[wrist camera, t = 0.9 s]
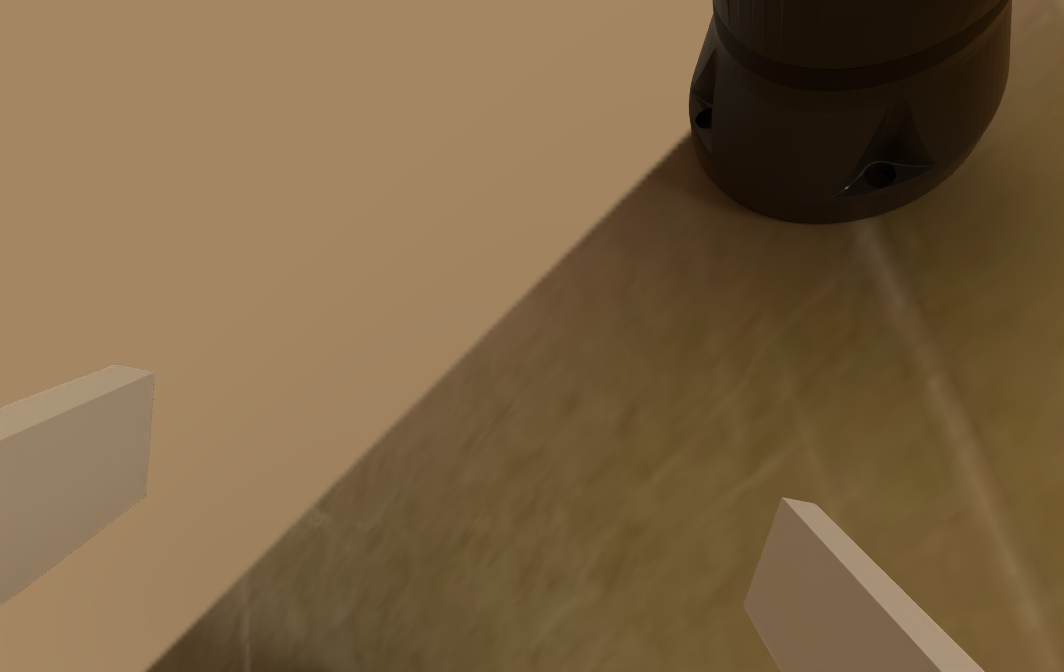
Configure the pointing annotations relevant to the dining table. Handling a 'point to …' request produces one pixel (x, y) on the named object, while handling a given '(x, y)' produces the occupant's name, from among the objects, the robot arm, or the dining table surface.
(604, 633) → the dining table surface
